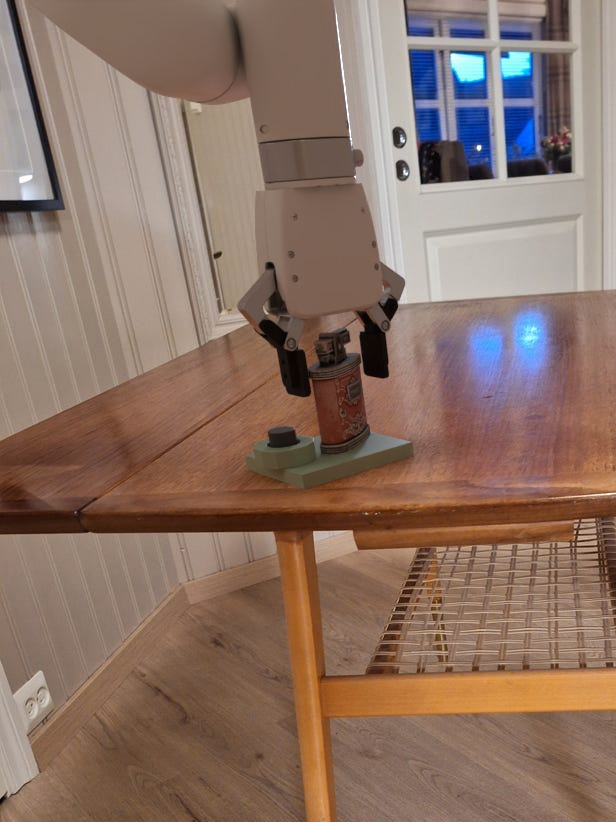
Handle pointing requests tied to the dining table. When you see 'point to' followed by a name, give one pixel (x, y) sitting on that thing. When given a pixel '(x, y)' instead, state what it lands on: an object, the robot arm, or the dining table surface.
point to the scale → (324, 459)
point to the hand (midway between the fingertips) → (339, 384)
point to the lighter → (338, 394)
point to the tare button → (282, 437)
